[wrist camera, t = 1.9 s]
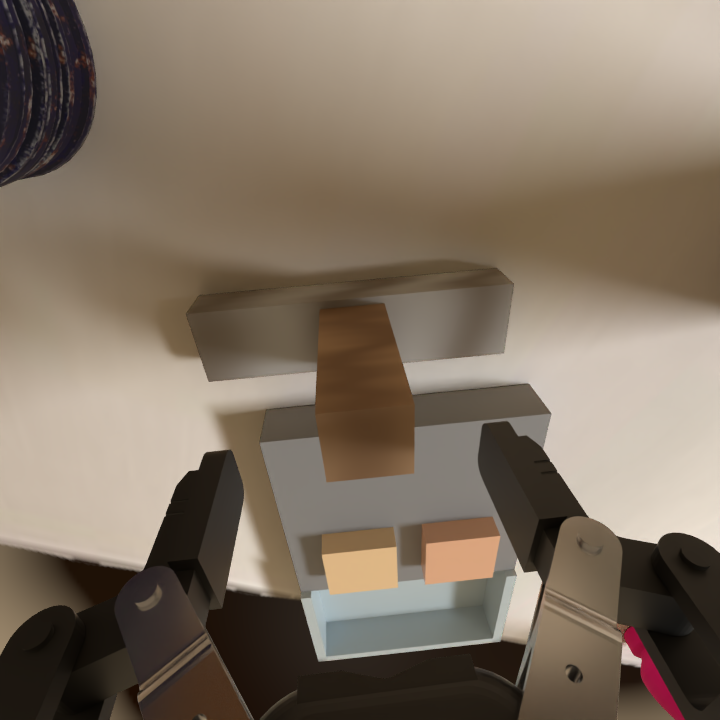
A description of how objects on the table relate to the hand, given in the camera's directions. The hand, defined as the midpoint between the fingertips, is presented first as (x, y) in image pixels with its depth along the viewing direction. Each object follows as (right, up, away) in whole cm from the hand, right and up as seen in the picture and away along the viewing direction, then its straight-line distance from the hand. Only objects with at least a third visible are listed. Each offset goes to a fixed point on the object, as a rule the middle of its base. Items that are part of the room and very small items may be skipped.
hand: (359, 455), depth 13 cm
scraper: (0, +6, +10) cm, 11 cm away
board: (+3, -6, +17) cm, 18 cm away
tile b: (0, -11, +16) cm, 19 cm away
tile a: (+7, -10, +16) cm, 20 cm away
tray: (+4, -17, +24) cm, 30 cm away
